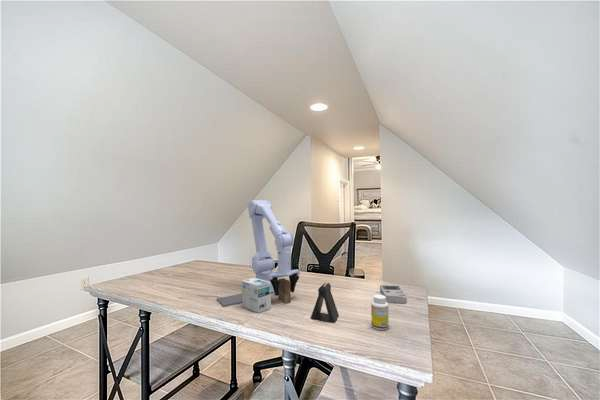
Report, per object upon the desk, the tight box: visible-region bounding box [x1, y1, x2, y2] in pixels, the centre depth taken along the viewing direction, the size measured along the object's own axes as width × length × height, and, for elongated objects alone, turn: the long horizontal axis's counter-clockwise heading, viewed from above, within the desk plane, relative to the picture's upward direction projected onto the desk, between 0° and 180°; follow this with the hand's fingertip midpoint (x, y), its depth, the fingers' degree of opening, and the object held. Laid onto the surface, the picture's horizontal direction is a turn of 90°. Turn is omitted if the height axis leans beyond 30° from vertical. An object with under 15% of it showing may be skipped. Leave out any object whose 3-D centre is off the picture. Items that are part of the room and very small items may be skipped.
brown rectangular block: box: [278, 277, 292, 305], centre depth 114 cm, size 2×6×9 cm, turn 33°
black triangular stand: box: [310, 282, 339, 324], centre depth 97 cm, size 9×6×12 cm, turn 67°
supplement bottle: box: [370, 294, 390, 331], centre depth 89 cm, size 6×6×10 cm
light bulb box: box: [241, 277, 272, 314], centre depth 107 cm, size 11×7×11 cm, turn 48°
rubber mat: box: [216, 293, 242, 308], centre depth 115 cm, size 12×10×1 cm
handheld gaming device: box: [379, 284, 407, 304], centre depth 118 cm, size 9×15×4 cm, turn 172°
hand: (284, 293), depth 114 cm, fingers open, 7 cm apart
